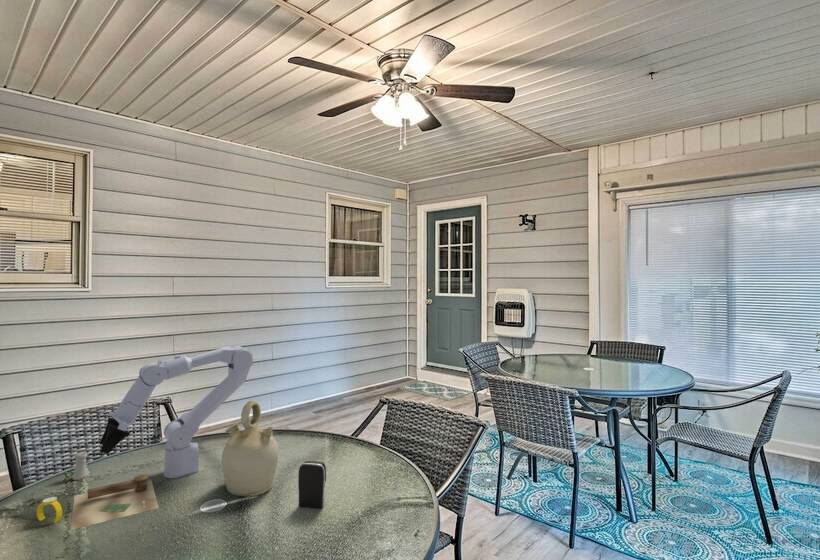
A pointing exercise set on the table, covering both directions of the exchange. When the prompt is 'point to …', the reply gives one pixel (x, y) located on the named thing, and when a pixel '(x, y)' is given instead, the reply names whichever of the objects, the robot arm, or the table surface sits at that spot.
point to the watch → (54, 503)
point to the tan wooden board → (112, 506)
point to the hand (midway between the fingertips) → (103, 448)
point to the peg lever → (120, 487)
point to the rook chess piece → (80, 466)
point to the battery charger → (312, 484)
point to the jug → (249, 456)
